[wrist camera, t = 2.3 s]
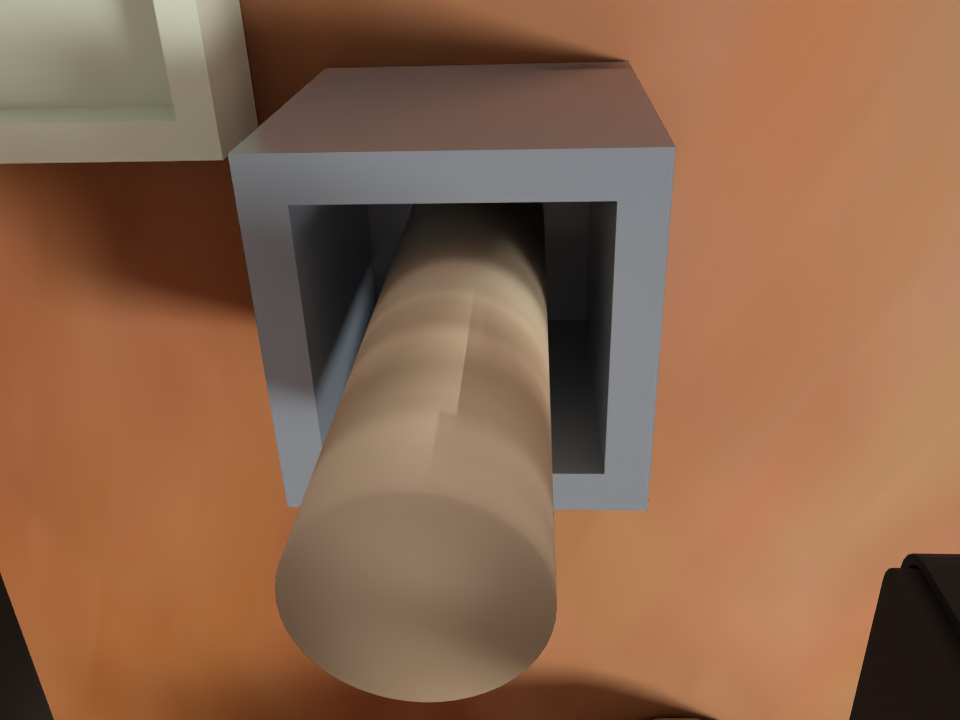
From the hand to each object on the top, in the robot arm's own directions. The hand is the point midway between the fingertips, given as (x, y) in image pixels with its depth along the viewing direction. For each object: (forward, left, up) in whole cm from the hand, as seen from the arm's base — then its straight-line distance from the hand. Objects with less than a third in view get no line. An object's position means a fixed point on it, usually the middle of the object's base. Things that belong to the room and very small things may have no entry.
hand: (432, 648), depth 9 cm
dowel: (0, 0, -12) cm, 12 cm away
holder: (0, 0, -13) cm, 13 cm away
